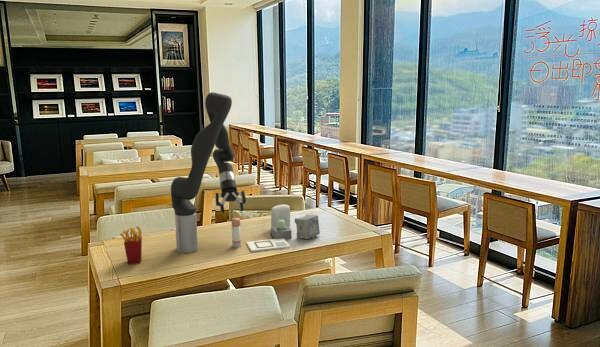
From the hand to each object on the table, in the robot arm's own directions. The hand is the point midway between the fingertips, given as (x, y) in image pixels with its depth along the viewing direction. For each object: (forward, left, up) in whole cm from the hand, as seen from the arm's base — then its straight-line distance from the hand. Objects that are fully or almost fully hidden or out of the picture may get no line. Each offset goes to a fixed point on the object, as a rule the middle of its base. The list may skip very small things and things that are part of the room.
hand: (232, 211), depth 221 cm
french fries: (-45, -12, -14) cm, 49 cm away
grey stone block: (+35, -6, -14) cm, 38 cm away
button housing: (+23, -2, -14) cm, 27 cm away
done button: (+23, -2, -12) cm, 26 cm away
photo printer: (+26, +10, -14) cm, 31 cm away
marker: (0, -8, -14) cm, 16 cm away
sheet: (+14, -12, -14) cm, 23 cm away
